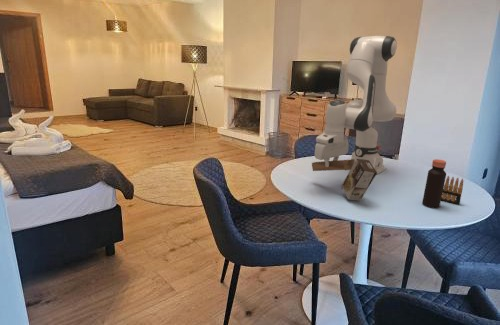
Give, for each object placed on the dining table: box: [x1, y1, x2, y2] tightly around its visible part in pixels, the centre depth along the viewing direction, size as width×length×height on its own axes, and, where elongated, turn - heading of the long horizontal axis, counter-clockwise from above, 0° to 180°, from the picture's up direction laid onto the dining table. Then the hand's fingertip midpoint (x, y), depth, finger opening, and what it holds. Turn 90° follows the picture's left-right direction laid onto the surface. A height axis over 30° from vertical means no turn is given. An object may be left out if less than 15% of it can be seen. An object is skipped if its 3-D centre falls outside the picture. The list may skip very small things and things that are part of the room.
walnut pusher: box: [311, 158, 355, 172], centre depth 157 cm, size 6×22×4 cm, turn 38°
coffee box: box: [341, 159, 378, 201], centre depth 147 cm, size 9×6×16 cm
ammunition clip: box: [441, 175, 464, 206], centre depth 149 cm, size 11×2×12 cm, turn 52°
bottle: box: [421, 159, 447, 209], centre depth 143 cm, size 7×7×20 cm
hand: (330, 165), depth 157 cm, fingers closed on walnut pusher, 3 cm apart
